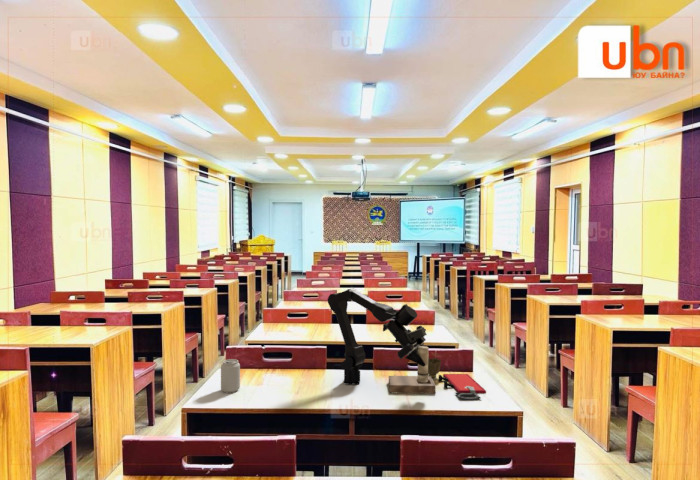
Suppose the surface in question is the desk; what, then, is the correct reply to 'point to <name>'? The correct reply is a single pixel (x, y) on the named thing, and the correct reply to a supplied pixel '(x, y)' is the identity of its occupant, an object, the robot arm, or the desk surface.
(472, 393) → the red board with handle
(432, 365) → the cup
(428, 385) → the walnut board
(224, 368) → the can
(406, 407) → the desk surface
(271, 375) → the desk surface
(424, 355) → the birch dowel
